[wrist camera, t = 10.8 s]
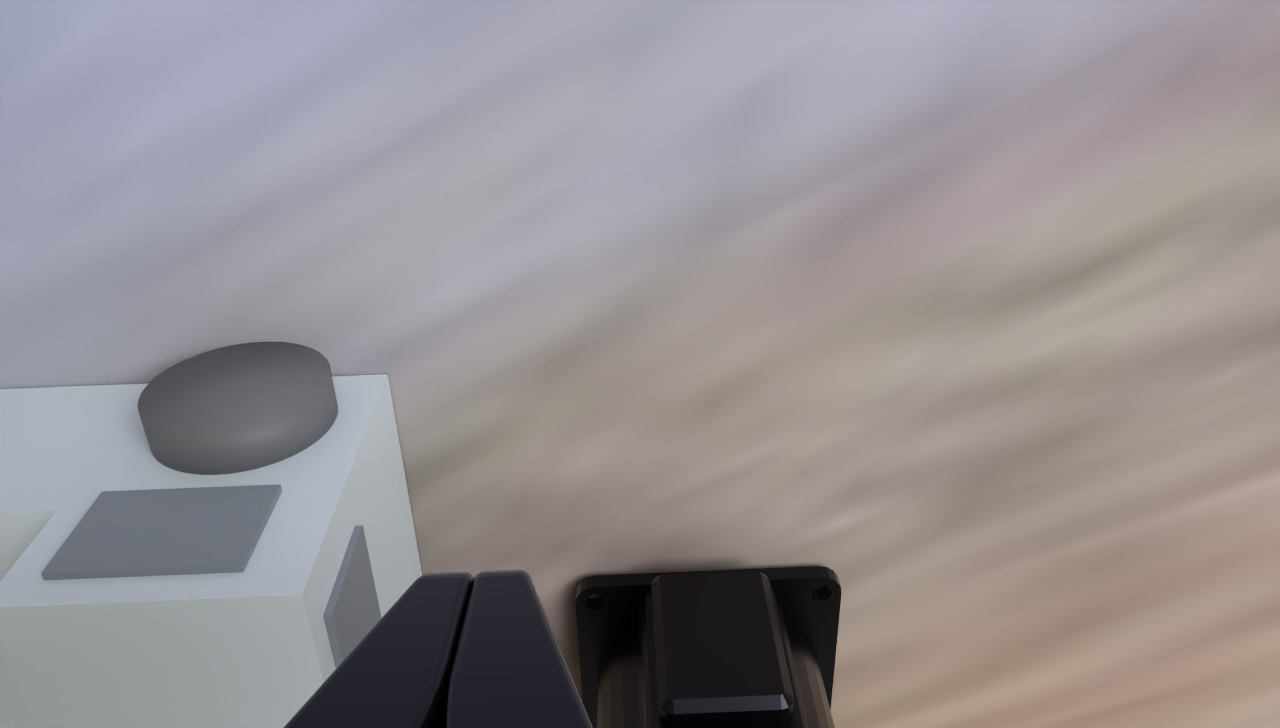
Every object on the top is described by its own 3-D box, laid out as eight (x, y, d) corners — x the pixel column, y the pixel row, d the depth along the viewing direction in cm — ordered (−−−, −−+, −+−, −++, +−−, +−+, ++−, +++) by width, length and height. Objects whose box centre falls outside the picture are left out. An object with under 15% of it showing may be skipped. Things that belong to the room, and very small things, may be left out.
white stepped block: (388, 337, 21) (300, 549, 15) (449, 697, 26) (402, 962, 20) (-330, 364, 21) (-714, 590, 15) (-126, 721, 26) (-347, 997, 20)
